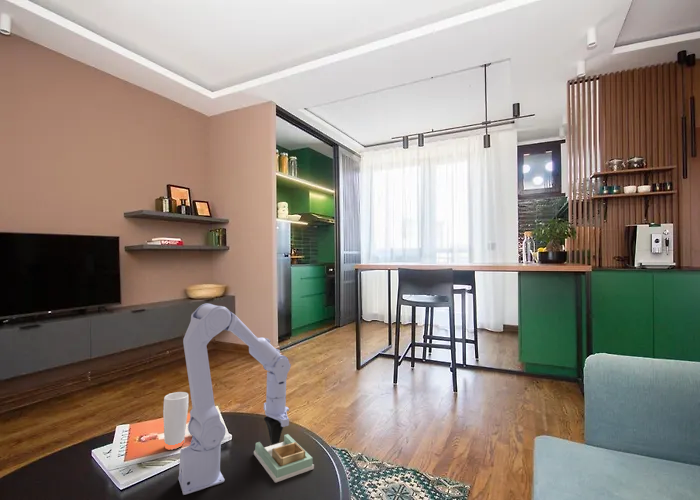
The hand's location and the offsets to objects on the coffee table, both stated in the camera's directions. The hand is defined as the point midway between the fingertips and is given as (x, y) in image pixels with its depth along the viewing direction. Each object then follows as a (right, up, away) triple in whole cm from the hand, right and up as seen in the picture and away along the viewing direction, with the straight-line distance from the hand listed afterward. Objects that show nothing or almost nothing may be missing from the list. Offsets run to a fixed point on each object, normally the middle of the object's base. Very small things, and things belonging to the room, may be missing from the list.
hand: (274, 442), depth 101 cm
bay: (+3, -3, -5) cm, 6 cm away
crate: (+5, -1, -8) cm, 10 cm away
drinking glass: (-31, -3, +2) cm, 31 cm away
